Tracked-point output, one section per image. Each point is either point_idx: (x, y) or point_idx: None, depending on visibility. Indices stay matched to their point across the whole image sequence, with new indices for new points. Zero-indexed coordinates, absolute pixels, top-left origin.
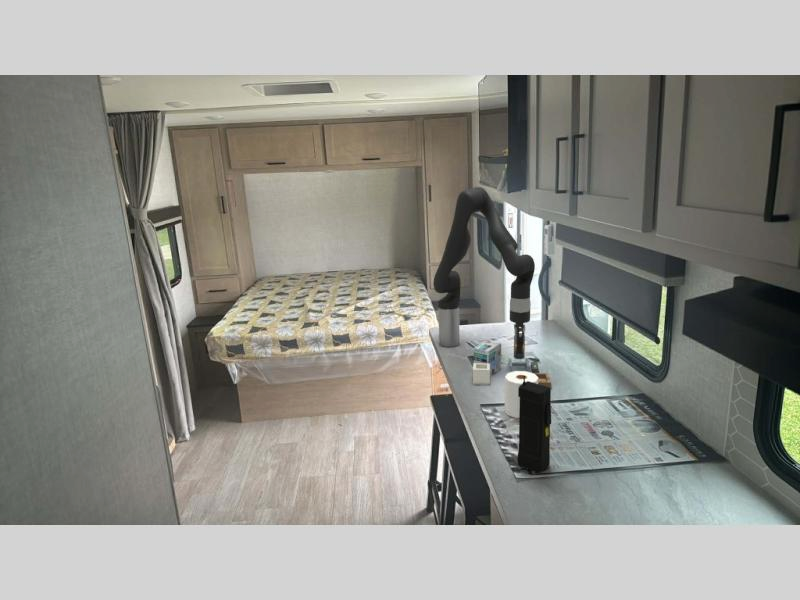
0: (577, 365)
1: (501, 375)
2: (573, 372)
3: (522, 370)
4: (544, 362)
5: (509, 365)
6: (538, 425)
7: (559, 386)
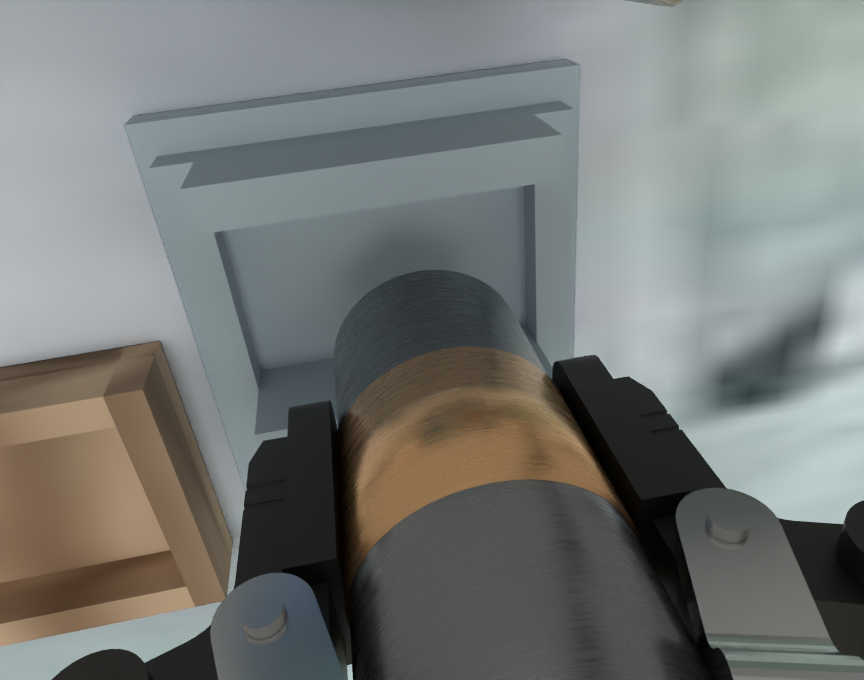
0: None
1: (184, 10)
2: None
3: None
4: None
5: (207, 186)
6: None
7: (103, 630)
